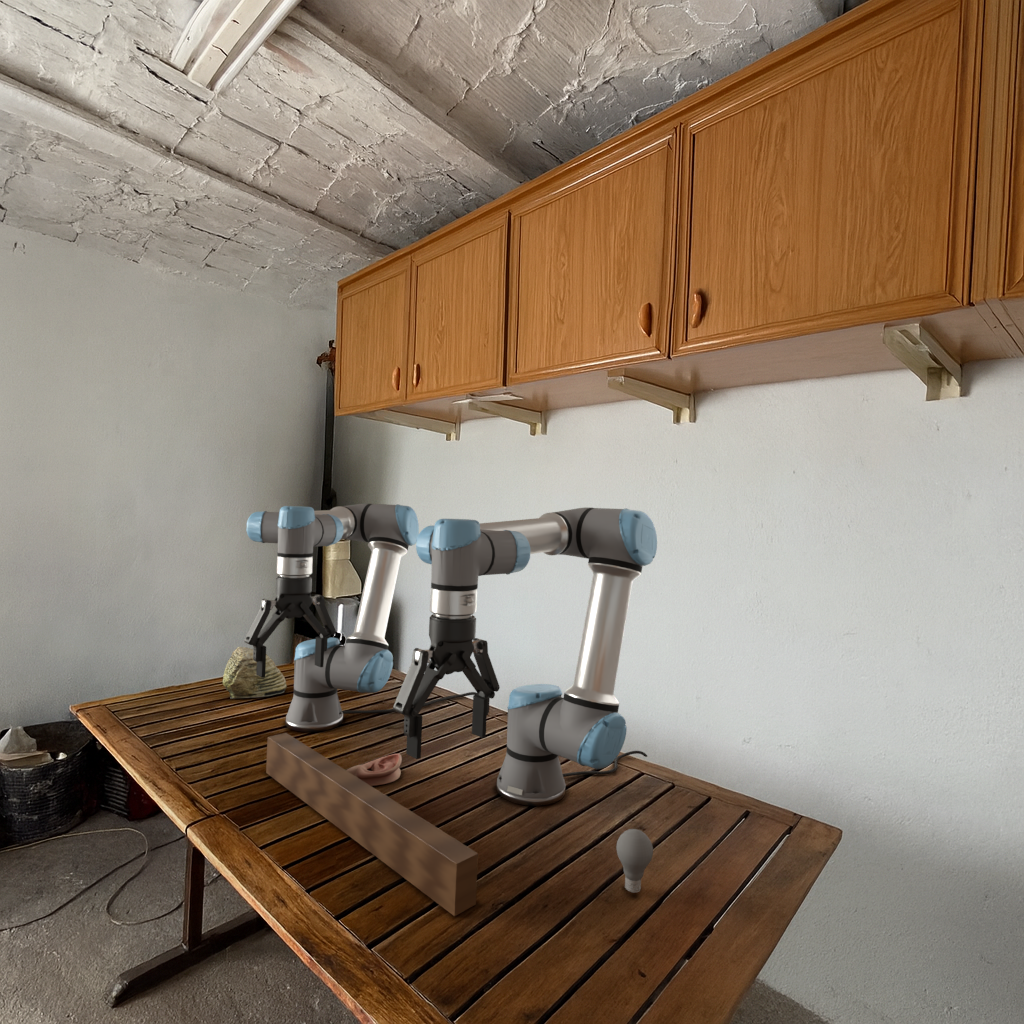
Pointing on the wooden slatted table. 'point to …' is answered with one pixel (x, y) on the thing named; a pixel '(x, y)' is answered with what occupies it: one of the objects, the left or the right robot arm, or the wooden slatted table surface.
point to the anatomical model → (378, 770)
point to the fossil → (251, 676)
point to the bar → (378, 823)
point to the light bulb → (634, 857)
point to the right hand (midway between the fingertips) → (447, 745)
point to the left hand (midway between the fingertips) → (290, 670)
